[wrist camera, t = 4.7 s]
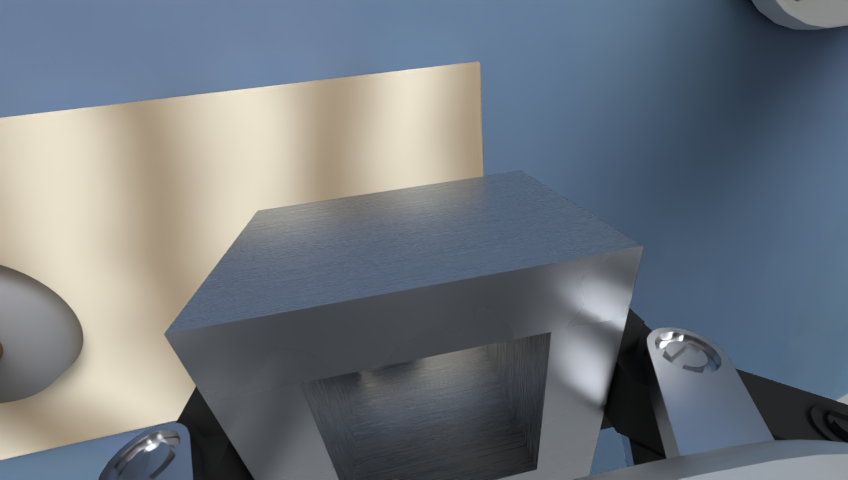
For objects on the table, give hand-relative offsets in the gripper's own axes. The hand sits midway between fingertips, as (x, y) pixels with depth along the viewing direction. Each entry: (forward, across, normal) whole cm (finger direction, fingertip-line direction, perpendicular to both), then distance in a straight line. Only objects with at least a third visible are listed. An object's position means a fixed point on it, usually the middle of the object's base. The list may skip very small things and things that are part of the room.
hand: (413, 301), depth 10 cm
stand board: (+6, +9, +1) cm, 10 cm away
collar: (0, 0, 0) cm, 0 cm away
